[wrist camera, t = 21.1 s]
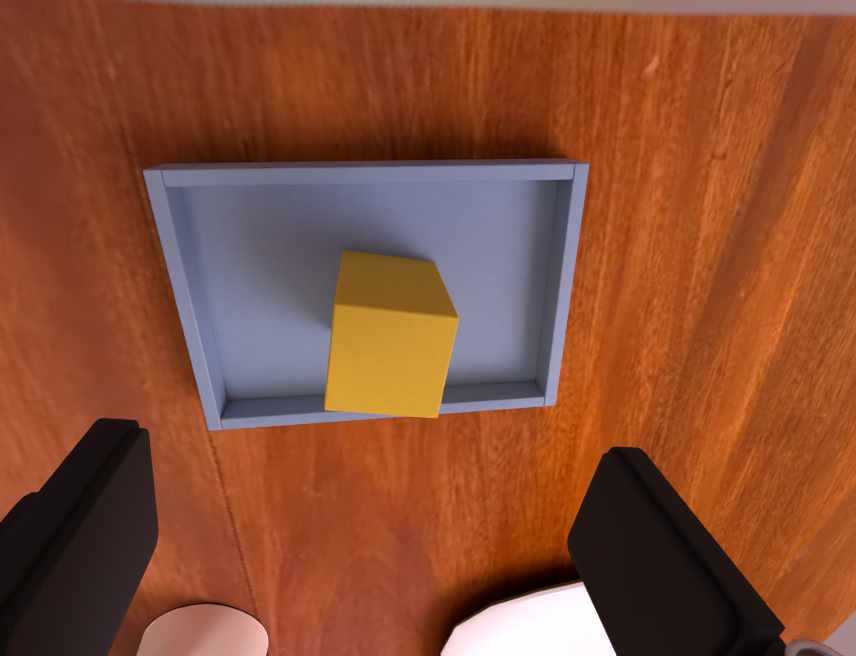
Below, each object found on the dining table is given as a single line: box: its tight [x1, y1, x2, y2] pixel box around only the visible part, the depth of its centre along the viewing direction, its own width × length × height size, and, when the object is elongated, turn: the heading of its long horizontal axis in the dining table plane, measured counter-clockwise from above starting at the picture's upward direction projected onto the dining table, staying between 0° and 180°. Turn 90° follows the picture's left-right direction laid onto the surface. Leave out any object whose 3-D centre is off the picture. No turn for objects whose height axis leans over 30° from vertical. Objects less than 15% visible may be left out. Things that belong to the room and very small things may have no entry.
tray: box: [143, 158, 589, 431], centre depth 20 cm, size 16×11×2 cm
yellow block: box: [324, 250, 459, 418], centre depth 18 cm, size 4×4×6 cm
